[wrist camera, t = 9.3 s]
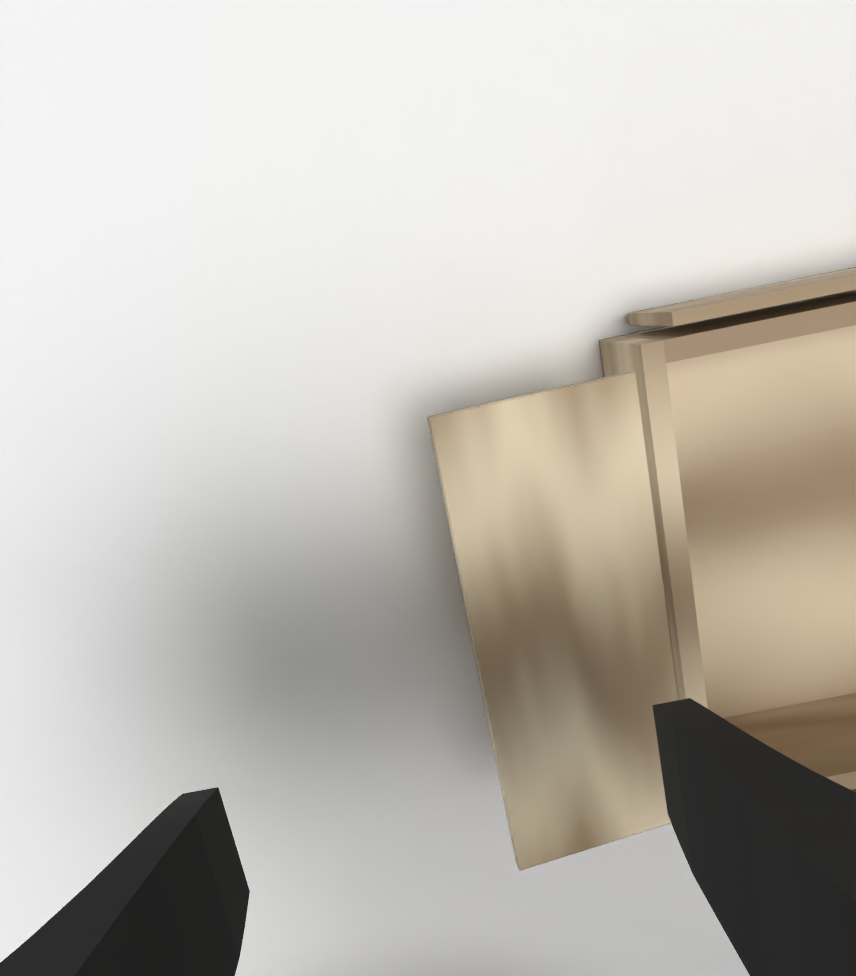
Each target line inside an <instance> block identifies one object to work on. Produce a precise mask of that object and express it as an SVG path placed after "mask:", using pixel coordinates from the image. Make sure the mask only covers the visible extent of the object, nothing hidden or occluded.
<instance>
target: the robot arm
mask: <svg viewBox="0 0 856 976" xmlns="http://www.w3.org/2000/svg"><path fill="white" fill-rule="evenodd" d="M652 706H653V713H654V720H655V727H656V734H657V741H658V749H659V756H660V763H661V770H662V777H663V784H664V791H665V798H666V805H667V813H668V816H669V818H670V821H671V823H672V826H673V828H674V831H675V833H676V835H677V838H678V840H679V843H680V845H681V848H682V850H683V852H684V854H685V857H686V859H687V861H688V864H689V866H690V868H691V871H692V873H693V875H694V877H695V879H696V880H697V882H698V884H699V886H700V888H701V890H702V891H703V893H704V895H705V897H706V898H707V900H708V902H709V904H710V906H711V907H712V909H713V911H714V913H715V915H716V916H717V918H718V920H719V922H720V923H721V925H722V927H723V929H724V931H725V932H726V934H727V936H728V938H729V939H730V941H731V943H732V945H733V946H734V948H735V950H736V952H737V953H738V955H739V957H740V959H741V961H742V962H743V964H744V966H745V968H746V969H747V971H748V973H749V975H750V976H856V792H854V791H852V790H850V789H848V788H846V787H844V786H842V785H840V784H838V783H836V782H834V781H832V780H830V779H828V778H826V777H824V776H822V775H820V774H818V773H816V772H814V771H812V770H811V769H809V768H807V767H805V766H803V765H801V764H800V763H798V762H796V761H794V760H792V759H790V758H789V757H787V756H785V755H783V754H782V753H780V752H778V751H776V750H775V749H773V748H771V747H770V746H768V745H766V744H764V743H763V742H761V741H759V740H758V739H756V738H754V737H753V736H751V735H749V734H748V733H746V732H744V731H743V730H741V729H740V728H738V727H736V726H735V725H733V724H731V723H730V722H728V721H727V720H725V719H723V718H722V717H720V716H719V715H717V714H715V713H714V712H712V711H711V710H709V709H707V708H706V707H704V706H703V705H701V704H699V703H698V702H696V701H694V700H692V699H691V698H688V699H682V700H677V701H672V702H666V703H661V704H656V705H652ZM249 892H250V891H249V888H248V885H247V881H246V878H245V875H244V871H243V868H242V865H241V861H240V858H239V855H238V851H237V848H236V845H235V841H234V838H233V835H232V831H231V828H230V825H229V821H228V818H227V815H226V812H225V808H224V805H223V802H222V798H221V795H220V792H219V788H218V787H217V788H212V789H206V790H201V791H196V792H191V793H185V794H182V795H181V796H179V797H178V798H177V799H176V800H175V801H173V802H172V803H171V804H170V805H169V806H168V807H167V808H166V809H165V810H164V811H163V812H162V813H160V814H159V815H158V816H157V817H156V818H155V819H154V820H153V821H152V822H151V823H150V824H149V825H148V826H147V827H146V828H145V829H144V830H143V831H142V832H141V833H140V834H139V835H138V836H137V837H136V838H135V839H134V840H133V841H132V842H131V843H130V844H129V845H128V846H127V847H126V848H125V849H124V850H123V851H122V852H121V853H120V854H119V855H118V856H117V857H116V858H115V859H114V860H113V861H112V862H111V863H110V864H109V865H108V866H107V867H106V868H105V869H103V870H102V871H101V872H100V873H99V874H98V875H97V876H96V877H95V878H94V879H93V880H92V881H91V882H90V883H89V884H88V885H87V886H86V887H85V888H84V889H83V890H82V891H81V892H79V893H78V894H77V895H76V896H75V897H74V898H73V899H72V900H71V901H70V902H69V903H67V904H66V905H65V906H64V907H63V908H62V909H61V910H60V911H59V912H58V913H57V914H55V915H54V916H53V917H52V918H51V919H50V920H49V921H48V922H47V923H46V924H45V925H43V926H42V927H41V928H40V929H39V930H38V931H37V932H36V933H35V934H34V935H33V936H31V937H30V938H29V939H28V940H27V941H26V942H24V943H23V944H22V945H21V946H20V947H19V948H17V949H16V950H15V951H14V952H13V953H11V954H10V955H9V956H8V957H7V958H5V959H4V960H3V961H2V962H1V963H0V976H235V972H236V968H237V965H238V961H239V957H240V951H241V945H242V939H243V933H244V928H245V921H246V913H247V906H248V899H249Z"/></svg>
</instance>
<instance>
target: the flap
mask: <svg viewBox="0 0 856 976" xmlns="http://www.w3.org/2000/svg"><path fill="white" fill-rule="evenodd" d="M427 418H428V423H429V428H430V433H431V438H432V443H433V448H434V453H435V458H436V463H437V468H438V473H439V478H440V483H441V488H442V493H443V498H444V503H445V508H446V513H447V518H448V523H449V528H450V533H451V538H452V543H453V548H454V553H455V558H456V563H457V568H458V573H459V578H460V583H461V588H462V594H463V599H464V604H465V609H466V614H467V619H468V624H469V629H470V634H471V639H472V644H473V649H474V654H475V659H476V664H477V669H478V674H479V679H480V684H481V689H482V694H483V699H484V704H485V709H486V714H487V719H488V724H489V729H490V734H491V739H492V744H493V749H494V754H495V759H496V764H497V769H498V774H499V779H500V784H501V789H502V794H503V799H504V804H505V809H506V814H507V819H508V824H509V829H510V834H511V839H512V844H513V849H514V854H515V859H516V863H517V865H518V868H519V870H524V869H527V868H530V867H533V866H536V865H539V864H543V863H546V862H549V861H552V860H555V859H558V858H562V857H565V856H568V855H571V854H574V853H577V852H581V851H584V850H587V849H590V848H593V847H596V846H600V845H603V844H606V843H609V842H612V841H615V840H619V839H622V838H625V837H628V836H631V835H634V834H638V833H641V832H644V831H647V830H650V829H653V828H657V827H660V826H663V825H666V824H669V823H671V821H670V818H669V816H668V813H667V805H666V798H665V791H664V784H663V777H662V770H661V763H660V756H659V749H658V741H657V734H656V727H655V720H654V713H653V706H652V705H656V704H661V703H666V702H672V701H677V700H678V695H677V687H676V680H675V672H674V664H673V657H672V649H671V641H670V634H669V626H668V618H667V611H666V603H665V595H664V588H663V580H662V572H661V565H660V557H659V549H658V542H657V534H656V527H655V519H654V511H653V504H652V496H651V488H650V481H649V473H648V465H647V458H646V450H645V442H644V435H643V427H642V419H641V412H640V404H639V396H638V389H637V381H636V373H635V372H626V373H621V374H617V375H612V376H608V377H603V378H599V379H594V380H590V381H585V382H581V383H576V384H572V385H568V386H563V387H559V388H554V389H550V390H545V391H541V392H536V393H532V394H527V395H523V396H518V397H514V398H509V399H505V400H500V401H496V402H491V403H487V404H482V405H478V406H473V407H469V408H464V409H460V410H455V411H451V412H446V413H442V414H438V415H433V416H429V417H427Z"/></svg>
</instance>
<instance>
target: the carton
mask: <svg viewBox="0 0 856 976" xmlns="http://www.w3.org/2000/svg"><path fill="white" fill-rule="evenodd" d="M628 317H629V325H644V326H667V327H662V328H658V329H653V330H648V331H643V332H638V333H633V334H628V335H623V336H618V337H613V338H608V339H603V340H599V342H600V349H601V356H602V363H603V370H604V377H608V376H612V375H617V374H621V373H626V372H635V373H636V381H637V389H638V396H639V404H640V412H641V419H642V427H643V435H644V442H645V450H646V458H647V465H648V473H649V481H650V488H651V496H652V504H653V511H654V519H655V527H656V534H657V542H658V549H659V557H660V565H661V572H662V580H663V588H664V595H665V603H666V611H667V618H668V626H669V634H670V641H671V649H672V657H673V664H674V672H675V680H676V687H677V695H678V700H682V699H688V698H691V699H692V700H694V701H696V702H698V703H699V704H701V705H703V706H704V707H706V708H707V709H709V710H711V711H712V712H714V713H715V714H717V715H719V716H720V717H722V718H723V719H725V720H727V721H728V722H730V723H731V724H733V725H735V726H736V727H738V728H740V729H741V730H743V731H744V732H746V733H748V734H749V735H751V736H753V737H754V738H756V739H758V740H759V741H761V742H763V743H764V744H766V745H768V746H770V747H771V748H773V749H775V750H776V751H778V752H780V753H782V754H783V755H785V756H787V757H789V758H790V759H792V760H794V761H796V762H798V763H800V764H801V765H803V766H805V767H807V768H809V769H811V770H812V771H814V772H816V773H818V774H820V775H822V776H824V777H826V778H828V779H830V780H832V781H834V782H836V783H838V784H840V785H842V786H844V787H846V788H848V789H850V790H852V791H854V792H856V267H854V268H850V269H845V270H840V271H835V272H830V273H825V274H820V275H815V276H810V277H805V278H800V279H795V280H790V281H785V282H780V283H775V284H771V285H766V286H761V287H756V288H751V289H746V290H741V291H736V292H731V293H726V294H721V295H716V296H711V297H706V298H701V299H696V300H692V301H687V302H682V303H677V304H672V305H667V306H662V307H657V308H652V309H647V310H642V311H637V312H632V313H628Z"/></svg>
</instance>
